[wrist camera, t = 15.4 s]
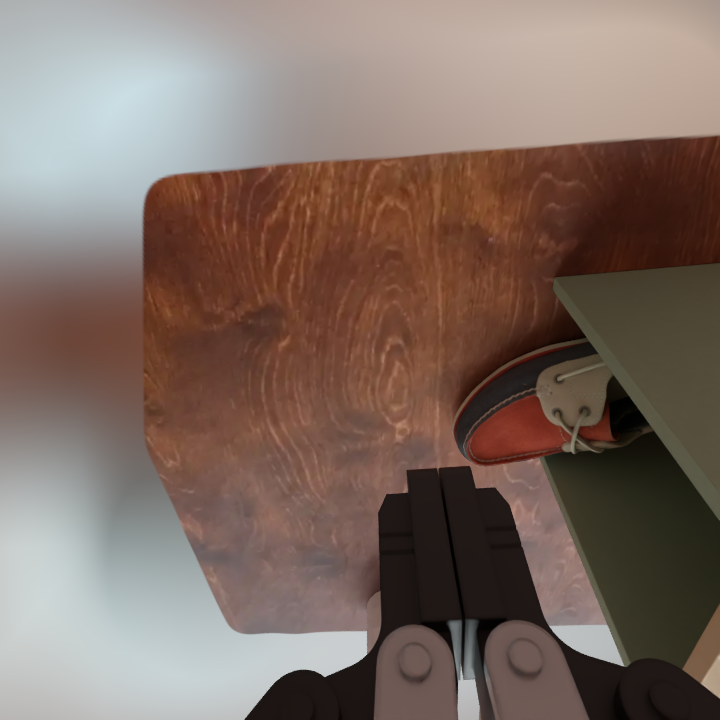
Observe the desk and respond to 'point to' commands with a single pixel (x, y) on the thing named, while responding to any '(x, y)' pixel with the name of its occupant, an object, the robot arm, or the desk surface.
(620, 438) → the boat shoe
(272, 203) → the desk surface
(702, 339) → the tall tan-topped box
